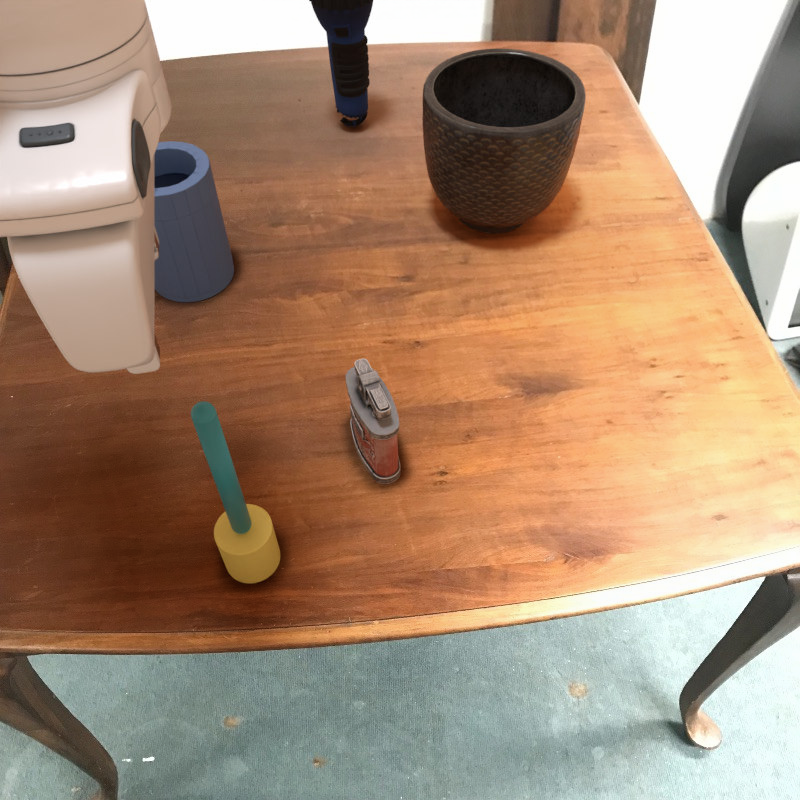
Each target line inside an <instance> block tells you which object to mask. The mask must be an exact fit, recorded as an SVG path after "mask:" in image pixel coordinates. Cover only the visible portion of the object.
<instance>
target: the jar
mask: <svg viewBox="0 0 800 800" xmlns="http://www.w3.org/2000/svg"><path fill="white" fill-rule="evenodd" d="M212 169H213V168H212V166H211V161H210V158H209V156H208V155H207V153H206V152H205V150H203V149H202V148H200V147H199V146H196V145H195V144H192V143H189V142H185V141H173V140H170V141H159V142H158V145H157V148H156V151H155V154H154V219H155V229H156V232H157V235H158V238H159V258H158V259H157V260H156V261H155V291H156V293H157V294H158V295H160V296H161V297H163V298H164V299H165V300H169V301H172V302H177V303H195V302H200V301H204V300H207V299H209V298H213V297H214V296H217V295H218V294H219V293H221V292H222V291H224V289H226V288H227V287H228V285H230V284H231V281H232V280H233V277H234V275H235V264H234V261H233V260H234V259H233V254H232V251H231V246H230V242H229V238H228V233H227V230H226V224H225V220H224V216H223V212H222V208H221V204H220V199H219V196H218V190H217V188H216V187H217V186H216V183H215V178H214V174H213V170H212Z"/></svg>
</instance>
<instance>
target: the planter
mask: <svg viewBox="0 0 800 800" xmlns="http://www.w3.org/2000/svg"><path fill="white" fill-rule="evenodd" d="M586 96H587V93H586V89H585V85H584V82H583V81H582V79H581V78H580V77H579V76H578V74H577V73H576V72H575V71H574V70H573V69H571V68H570V67H569V66H567V65H566V64H564V63H563V62H561V61H559V60H557V59H554V58H553V57H550V56H547V55H544V54H541V53H538V52H534V51H529V50H524V49H517V48H499V47H497V48H483V49H477V50H471V51H466V52H463V53H460V54H456V55H454V56H452V57H448V58H447V59H445V60H443V61H442V62H441V63H439V64H437V66H435V67H434V68H433V69H432V70H431V71H430V72H429V73H428V74H427V76H426V78H425V81H424V84H423V87H422V138H423V150H424V158H425V165H426V170H427V175H428V180H429V182H430V185H431V187H432V189H433V192H434V194H435V195H436V197H437V199H438V200H439V202H440V203H441V204H442V205H443V206H444V208H445V209H447V210H448V211H449V212H450V214H452V215H454V216H455V217H456V218H458V220H459V222H460V223H462V224H463V225H464V226H466V227H467V228H469V229H471V230H473V231H477V232H478V233H479V232H480V233H484V234H490V235H491V234H495V235H497V234H505V233H509V232H513V231H515V230H517V229H518V228H520V227H522V226H523V225H524V224H526V223H527V222H529V221H531V220H532V219H534V218H536V217H538V216H539V215H540V214H542V213H543V212H544V211H545V210H547V208H549V207H550V205H551V204H552V203H553V202H554V201H555V199H556V197H557V196H558V195H559V193H560V192H561V189H562V188H563V185H564V183H565V181H566V179H567V176H568V173H569V171H570V168H571V165H572V161H573V158H574V155H575V151H576V148H577V144H578V140H579V137H580V132H581V126H582V122H583V117H584V112H585V107H586V106H585V105H586V100H587V99H586V98H587V97H586Z"/></svg>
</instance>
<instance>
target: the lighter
mask: <svg viewBox="0 0 800 800" xmlns="http://www.w3.org/2000/svg"><path fill="white" fill-rule="evenodd" d="M353 365H354V366H353V367H350V368H349V369H348V370H347V371H346V373H345V384H346V390H347V394H348V395H347V396H348V398H349V403H350V405H349V409H350V410H349V411H350V417H351V418H350V431H351V436H352V442H353V444H354V447H355V451H356V453H357V456H358V457H359V459H360V461H361V462H362V465H363V466H364V468H365V469H366V471H367V473H368V474H369V475H370V476H371V478H372V479H373V480H374V482H376V483H378V484H381V485H389V484H392V483H394V482H396V481H397V480H398V479H399V478H400V476H401V473H402V472H401V470H402V469H401V462H400V458H399V447H398V442H399V440H398V433H399V431H400V417H399V414H398V410H397V406H396V404H395V400H394V399H393V396H392V394H391V391H390V390H389V388H388V386H387V385H386V383H385V382H384V380H383V379H382V378H381V377H380V374H379V373H378V371H377V370H374V368H372V366H371V364H370V362H369V361H368V359H366V358H359V359H357V360H355V361H354V364H353Z"/></svg>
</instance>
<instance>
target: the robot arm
mask: <svg viewBox="0 0 800 800" xmlns="http://www.w3.org/2000/svg"><path fill="white" fill-rule="evenodd" d="M163 69H164V68H163V66H162V61H161V58H160V54H159V50H158V46H157V42H156V38H155V35H154V31H153V27H152V24H151V20H150V16H149V12H148V7H147V4H146V0H0V238H7V244H8V250H9V254H10V257H11V261H12V264H13V267H14V270H15V271H16V274H17V277H18V279H19V281H20V283H21V285H22V287H23V289H24V291H25V294H26V295H27V297H28V299H29V301H30V303H31V305H32V306H33V308H34V309H35V311H36V313H37V315H38V317H39V318H40V320H41V322H42V324H43V326H44V327H45V329H46V330H47V332H48V334H49V336H50V338H52V340H53V342H54V343H55V345H56V347H57V348H58V350H59V351H60V353H61V355H62V356H63V358H64V359H65V360H66V362H67V363H68V364H69V365H70V366H71V367H73V368H74V369H75V370H77V371H80V372H83V373H89V374H91V373H92V374H94V373H95V374H96V373H108V372H115V371H117V372H118V371H122V370H126V371H127V372H129V373H130V374H133V375H138V374H139V375H140V374H144V373H153V372H156V371H158V370H159V369H160V367H161V347H160V344H159V342H158V339H157V336H156V333H155V329H156V328H155V321H156V320H155V319H156V318H155V312H156V311H155V304H156V303H155V299H156V298H155V297H156V296H155V295H156V293H155V291H156V290H155V261H156V260H157V259H158V258H159V238H158V235H157V232H156V229H155V219H154V154H155V151H156V148H157V145H158V143H159V142H160V137H161V134H162V132H164V130H165V129H166V127H167V125H168V123H169V122H170V119H171V116H172V110H173V109H172V100H171V96H170V92H169V89H168V85H167V82H166V78H165V73H164V70H163Z"/></svg>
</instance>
